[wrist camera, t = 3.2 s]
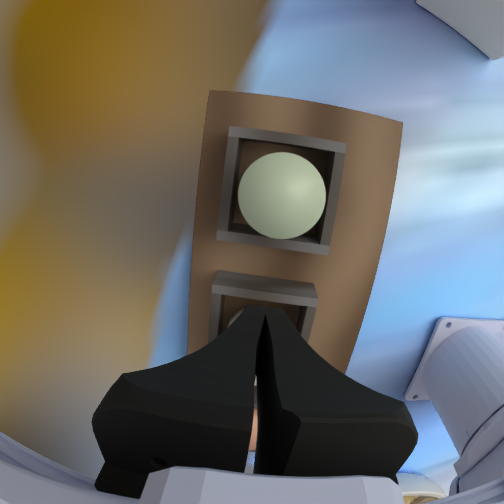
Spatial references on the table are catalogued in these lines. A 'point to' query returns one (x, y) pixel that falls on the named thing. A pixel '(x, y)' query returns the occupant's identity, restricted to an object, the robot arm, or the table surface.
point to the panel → (303, 246)
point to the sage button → (281, 195)
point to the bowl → (418, 488)
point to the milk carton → (473, 21)
